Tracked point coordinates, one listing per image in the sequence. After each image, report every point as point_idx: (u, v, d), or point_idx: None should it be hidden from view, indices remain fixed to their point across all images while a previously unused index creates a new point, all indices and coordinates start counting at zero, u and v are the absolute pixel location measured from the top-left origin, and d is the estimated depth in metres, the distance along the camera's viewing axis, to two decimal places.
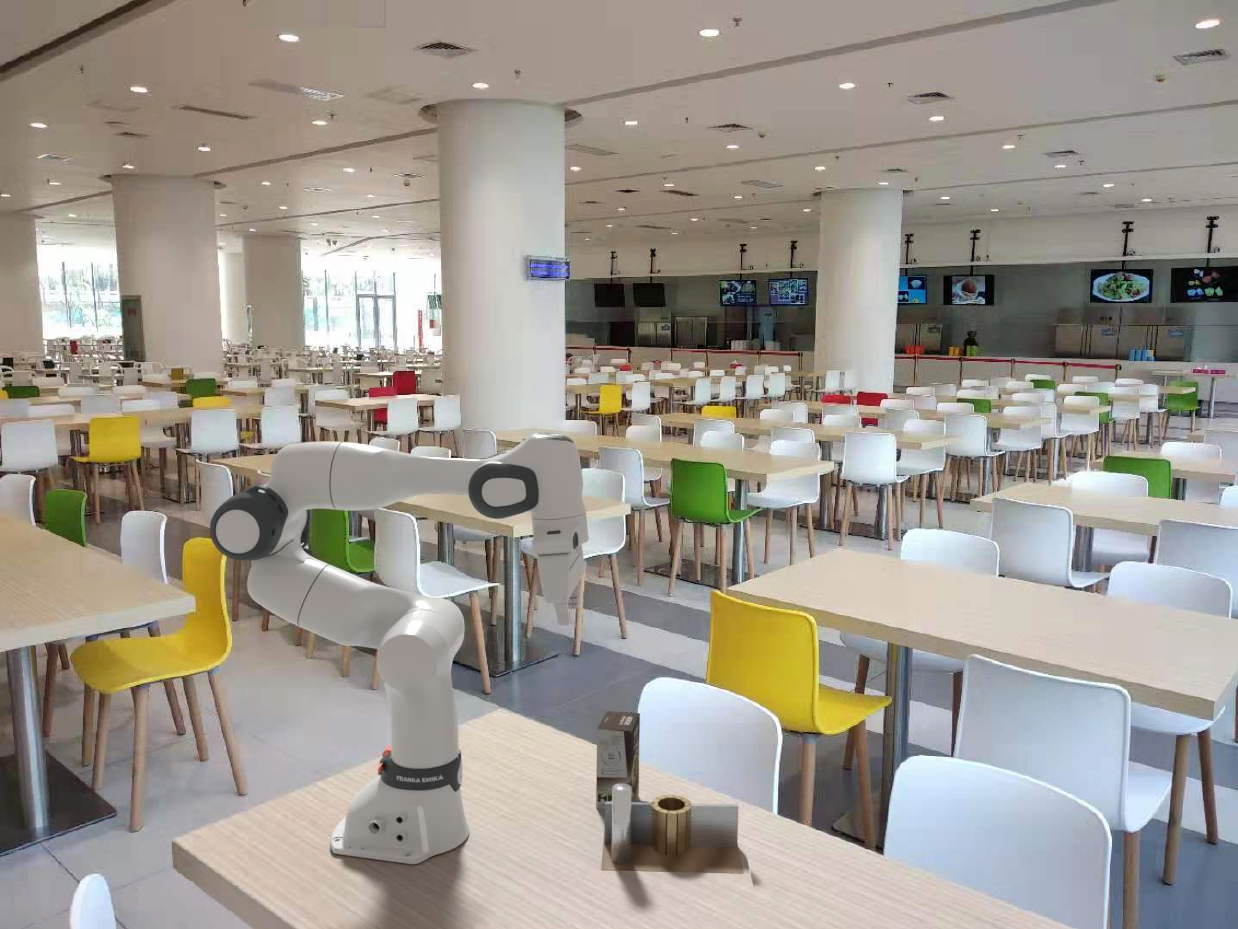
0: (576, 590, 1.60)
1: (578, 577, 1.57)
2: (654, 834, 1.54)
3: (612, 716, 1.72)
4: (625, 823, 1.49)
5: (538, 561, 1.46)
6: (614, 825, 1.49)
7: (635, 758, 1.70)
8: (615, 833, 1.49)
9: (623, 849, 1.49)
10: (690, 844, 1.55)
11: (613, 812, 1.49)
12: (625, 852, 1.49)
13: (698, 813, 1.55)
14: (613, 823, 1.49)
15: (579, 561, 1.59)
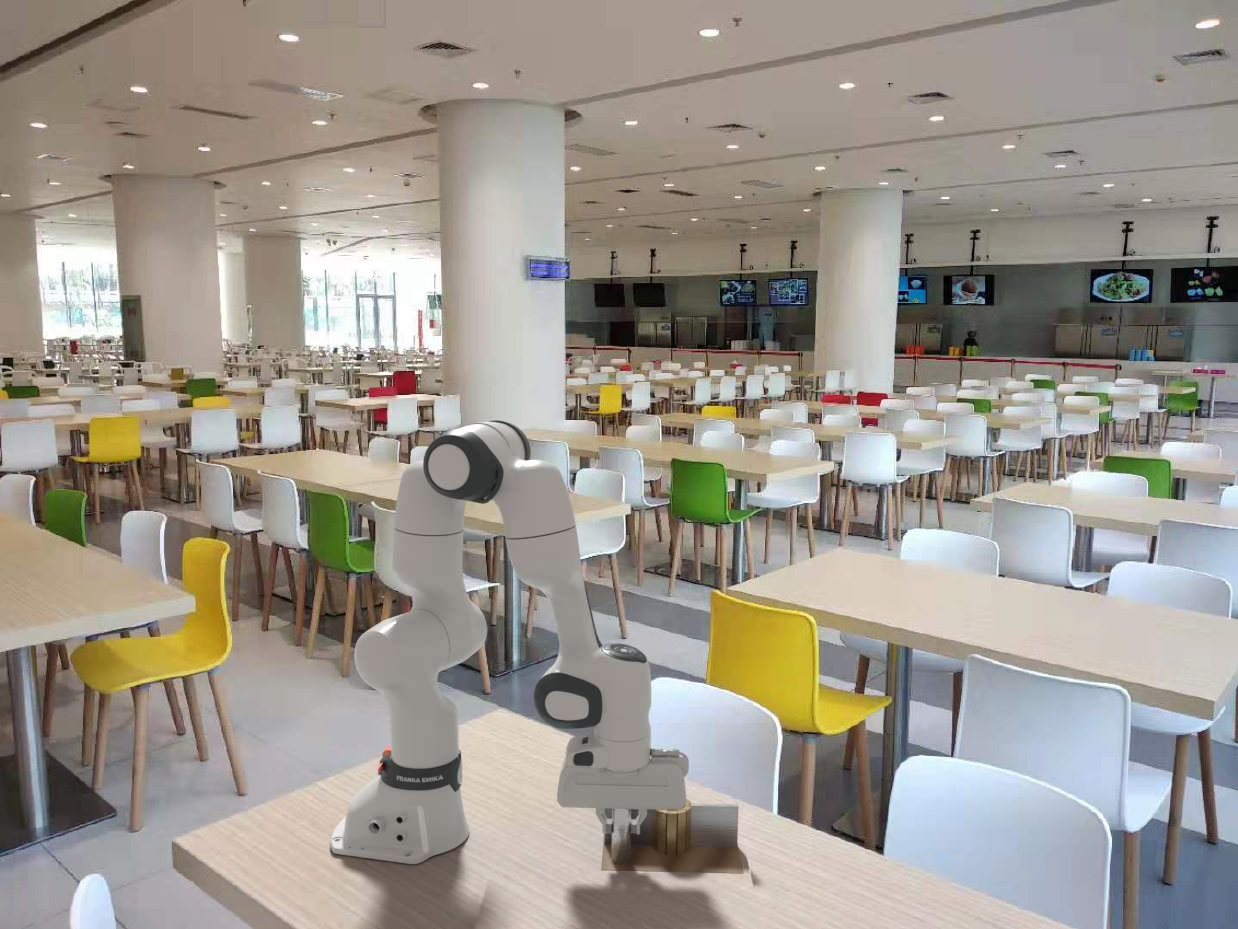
0: (639, 818, 1.49)
1: (635, 803, 1.48)
2: (654, 834, 1.54)
3: None
4: (625, 823, 1.49)
5: (566, 757, 1.52)
6: (614, 825, 1.49)
7: None
8: (615, 833, 1.49)
9: (623, 849, 1.49)
10: (690, 844, 1.55)
11: (613, 812, 1.49)
12: (625, 852, 1.49)
13: (698, 813, 1.55)
14: (613, 823, 1.49)
15: (653, 791, 1.48)
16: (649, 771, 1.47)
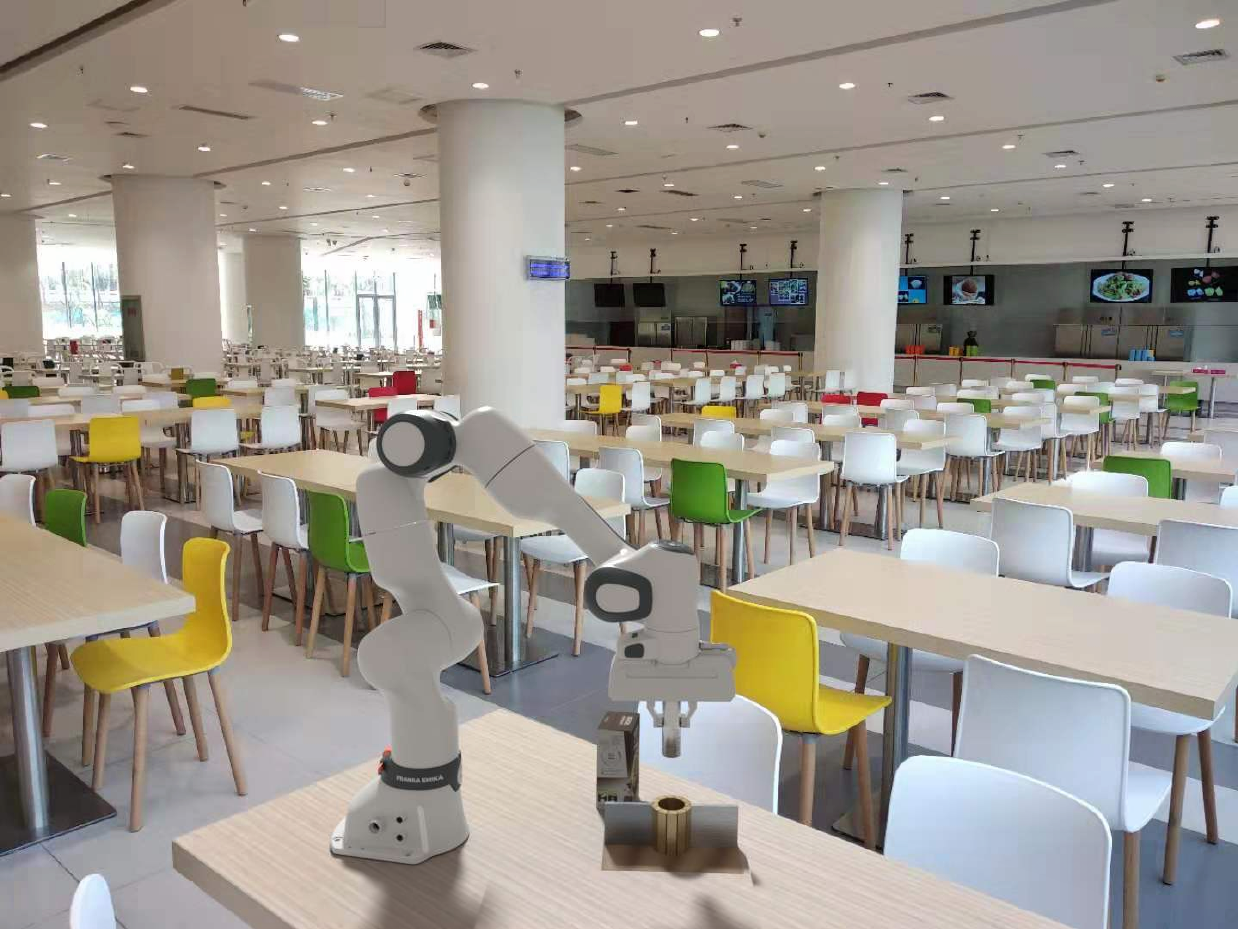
0: (689, 711, 1.52)
1: (685, 695, 1.50)
2: (654, 834, 1.54)
3: (612, 716, 1.72)
4: (675, 716, 1.51)
5: (616, 653, 1.54)
6: (665, 718, 1.52)
7: (635, 758, 1.70)
8: (666, 726, 1.52)
9: (674, 741, 1.52)
10: (690, 844, 1.55)
11: (663, 705, 1.52)
12: (675, 745, 1.52)
13: (698, 813, 1.55)
14: (663, 717, 1.52)
15: (702, 683, 1.50)
16: (699, 663, 1.50)
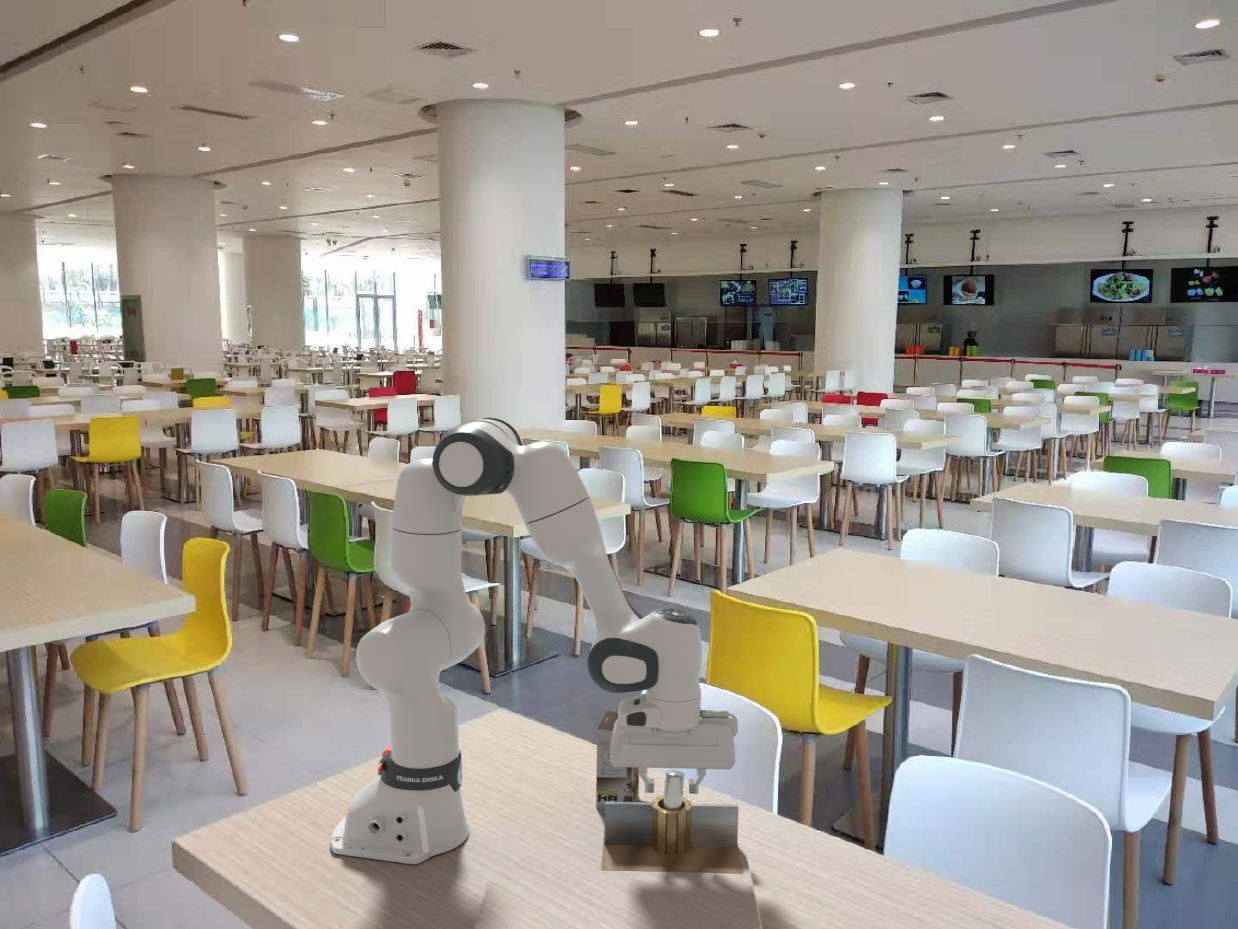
0: (698, 778, 1.54)
1: (685, 763, 1.52)
2: (654, 834, 1.54)
3: (612, 716, 1.72)
4: (676, 808, 1.54)
5: None
6: None
7: None
8: None
9: None
10: (690, 844, 1.55)
11: (666, 797, 1.54)
12: None
13: (698, 813, 1.55)
14: (665, 808, 1.54)
15: (703, 751, 1.52)
16: (700, 731, 1.51)
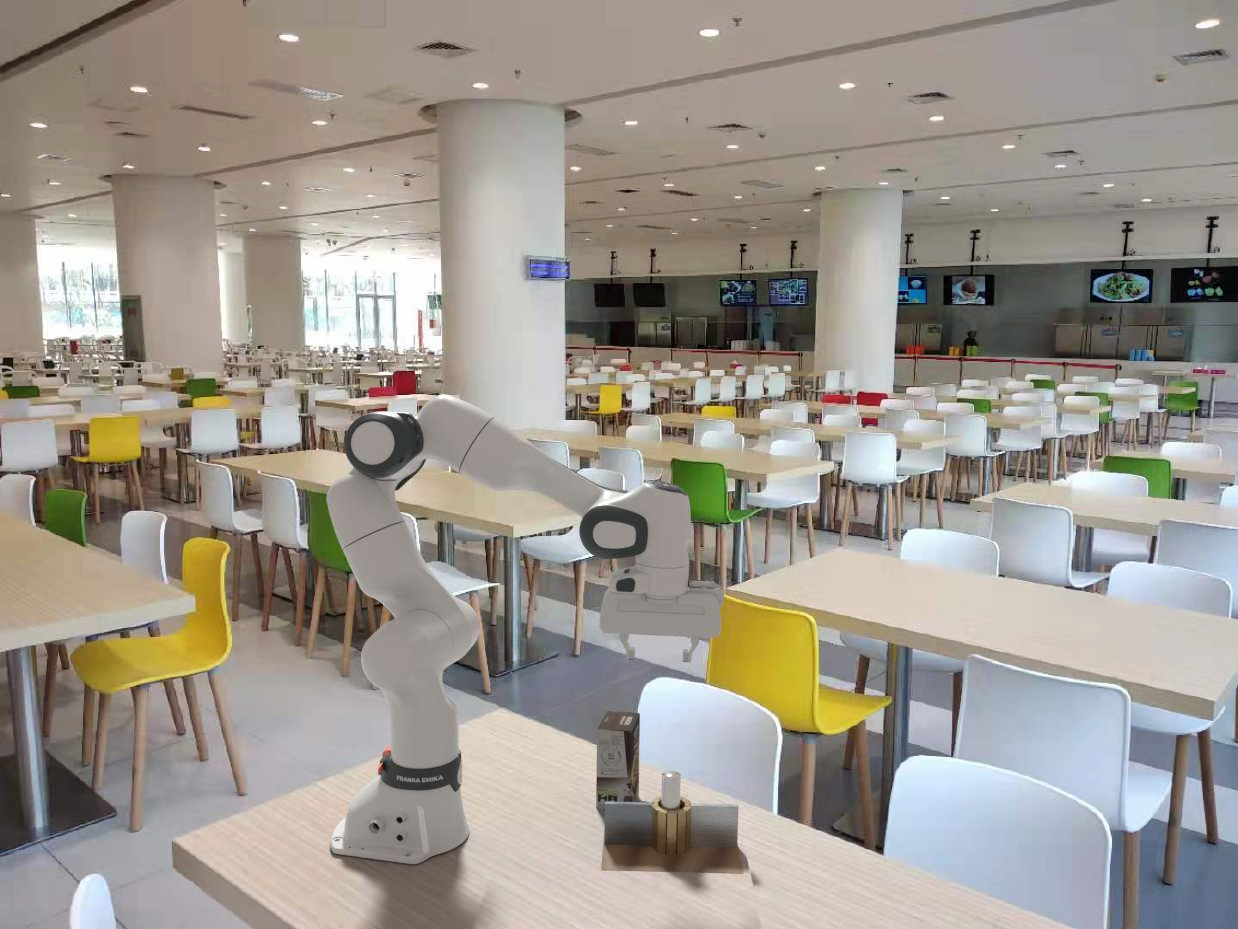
0: (691, 646, 1.58)
1: (672, 630, 1.57)
2: (654, 834, 1.54)
3: (612, 716, 1.72)
4: (674, 808, 1.54)
5: (608, 588, 1.61)
6: None
7: (635, 758, 1.70)
8: None
9: None
10: (690, 844, 1.55)
11: (663, 798, 1.54)
12: None
13: (698, 813, 1.55)
14: None
15: (690, 619, 1.57)
16: (687, 599, 1.56)
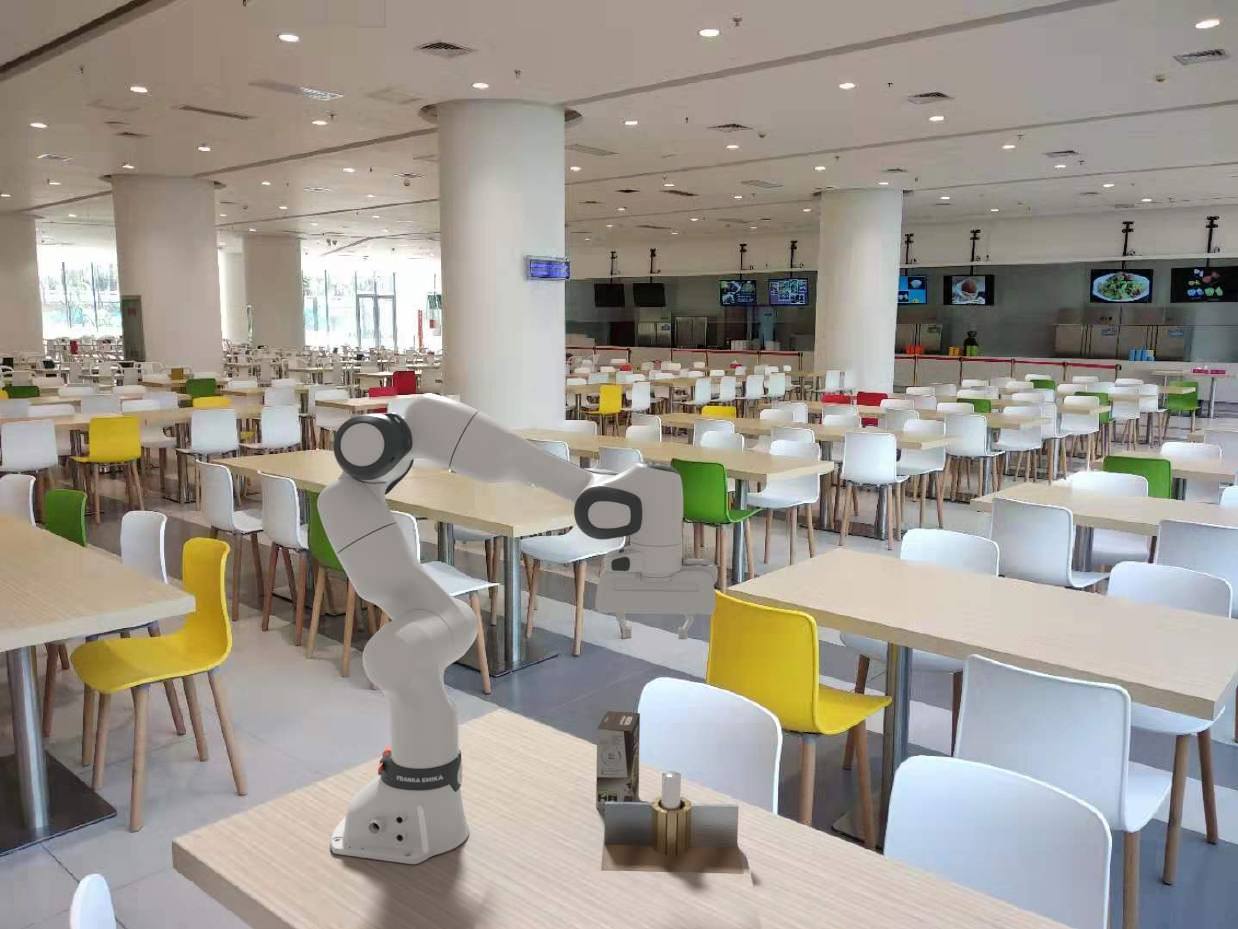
0: (686, 623, 1.61)
1: (668, 608, 1.59)
2: (654, 834, 1.54)
3: (612, 716, 1.72)
4: (674, 809, 1.53)
5: (603, 569, 1.63)
6: None
7: (635, 758, 1.70)
8: None
9: None
10: (690, 844, 1.55)
11: (663, 799, 1.54)
12: None
13: (698, 813, 1.55)
14: None
15: (684, 596, 1.59)
16: (681, 576, 1.59)
